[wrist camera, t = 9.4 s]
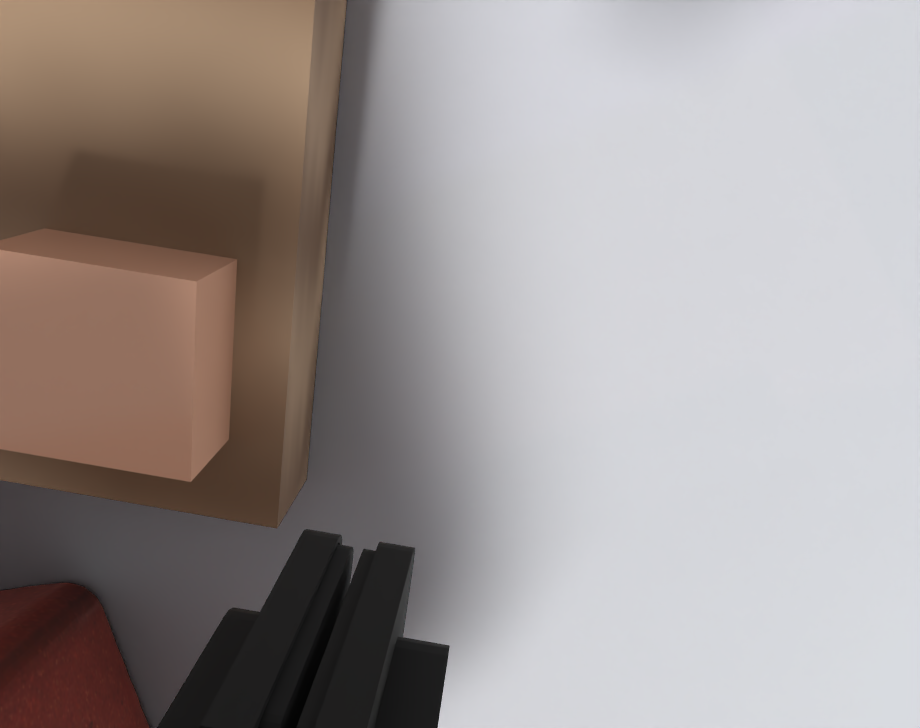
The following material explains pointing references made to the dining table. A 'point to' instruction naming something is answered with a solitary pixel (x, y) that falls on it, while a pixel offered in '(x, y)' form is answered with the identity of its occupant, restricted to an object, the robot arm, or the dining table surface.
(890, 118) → the dining table surface
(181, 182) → the board
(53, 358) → the tile
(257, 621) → the robot arm
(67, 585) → the plant pot
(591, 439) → the dining table surface
